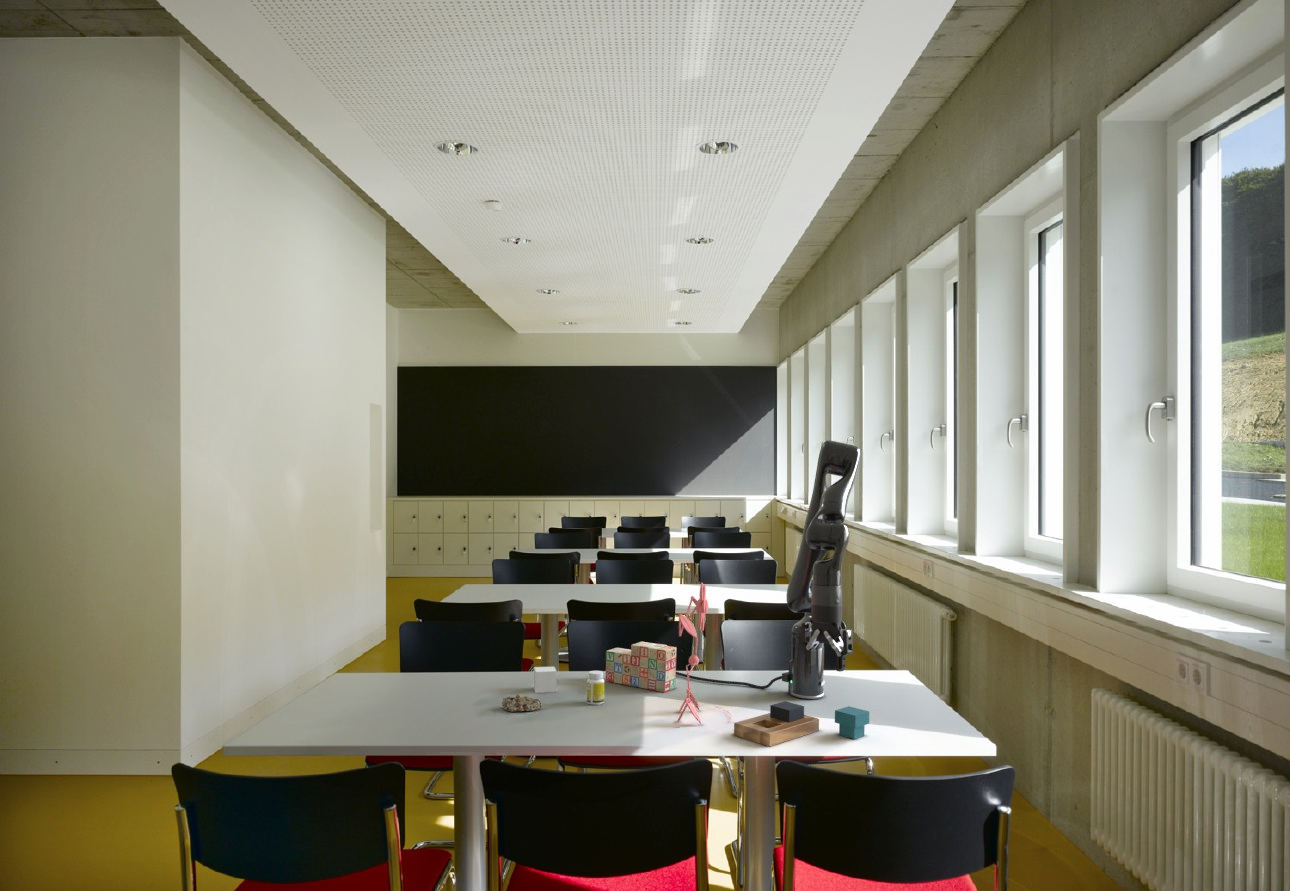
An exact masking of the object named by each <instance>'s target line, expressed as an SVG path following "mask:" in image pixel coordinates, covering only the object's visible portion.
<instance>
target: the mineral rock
mask: <svg viewBox="0 0 1290 891" xmlns="http://www.w3.org/2000/svg"><path fill="white" fill-rule="evenodd" d="M501 706H502V709H503V710H504V711H507V712H511V713H515V712H533V711H538V710H541V708H542V702H541V700H540V698H532V697H529V696H527V695H525V696H523V695H522V694H520V693H517V694H516V695H515V696H513V697H512V696H506V697H503V698H502V702H501Z"/></svg>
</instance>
